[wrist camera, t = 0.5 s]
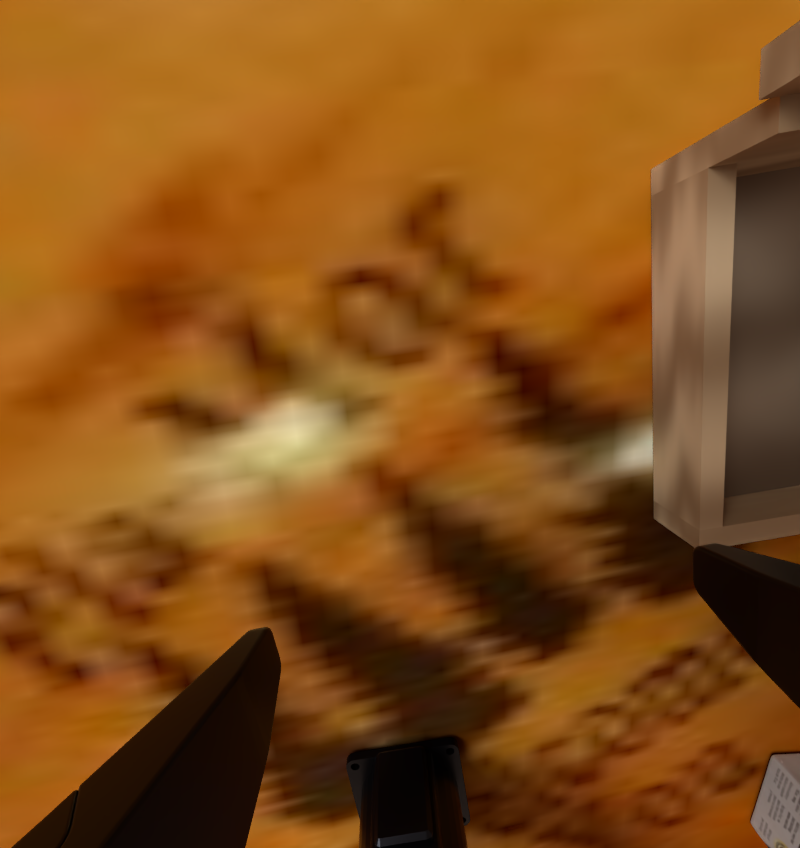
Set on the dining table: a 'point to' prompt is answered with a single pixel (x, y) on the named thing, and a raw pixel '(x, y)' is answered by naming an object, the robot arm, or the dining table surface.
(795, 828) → the coffee box
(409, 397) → the dining table surface
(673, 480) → the open wooden box
